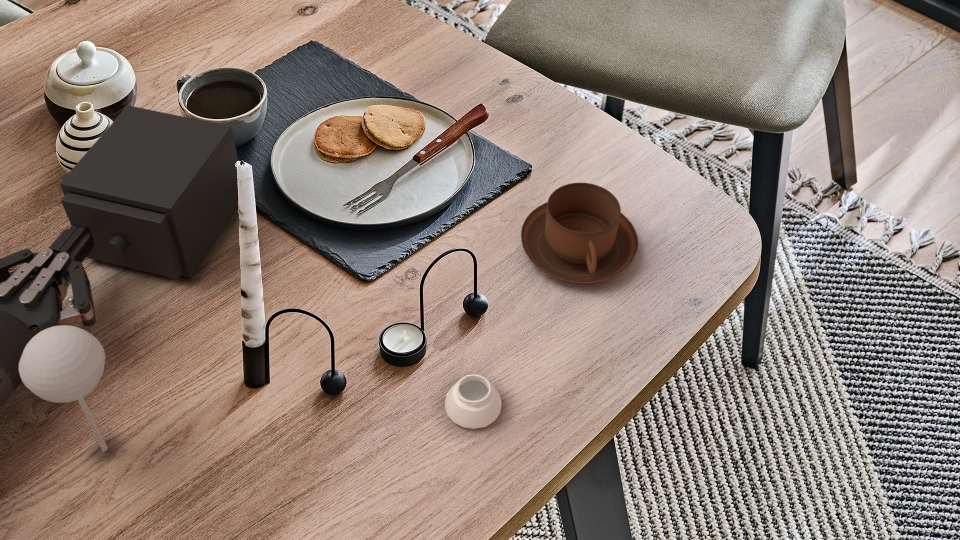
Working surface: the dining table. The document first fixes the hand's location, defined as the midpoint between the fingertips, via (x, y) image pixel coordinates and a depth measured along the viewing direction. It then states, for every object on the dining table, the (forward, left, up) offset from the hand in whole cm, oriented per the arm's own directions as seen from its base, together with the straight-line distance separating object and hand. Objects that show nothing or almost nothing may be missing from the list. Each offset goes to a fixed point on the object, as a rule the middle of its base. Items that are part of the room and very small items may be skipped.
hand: (84, 232), depth 90 cm
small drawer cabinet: (+3, +9, -6) cm, 11 cm away
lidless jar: (+40, -4, -6) cm, 41 cm away
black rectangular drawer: (+3, +6, -5) cm, 9 cm away
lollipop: (+11, -18, -6) cm, 22 cm away
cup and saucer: (+45, +18, -6) cm, 49 cm away
